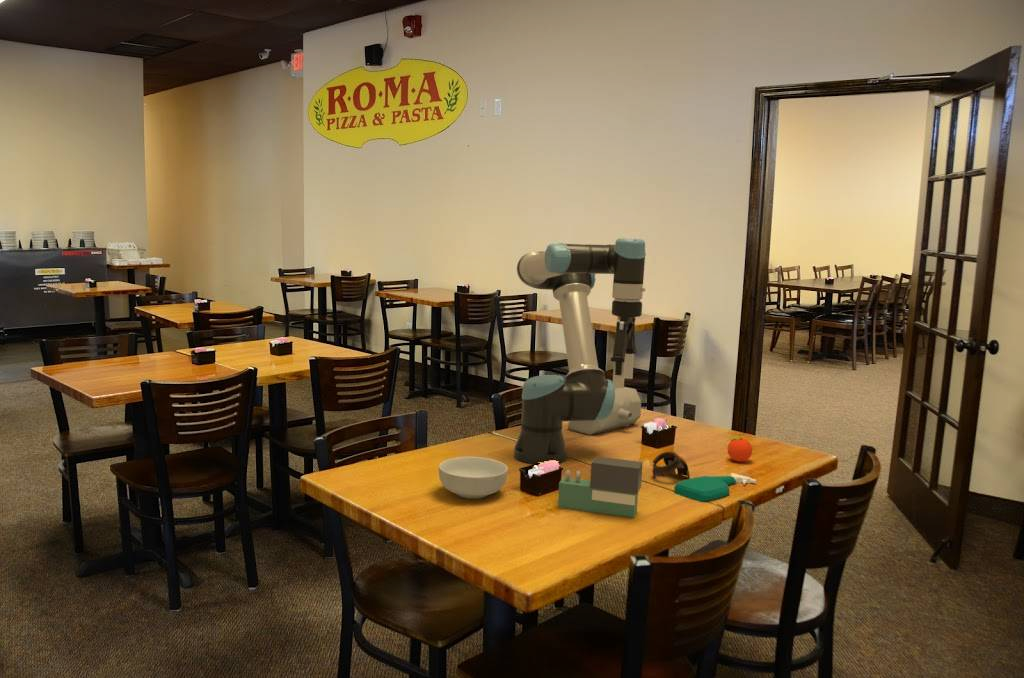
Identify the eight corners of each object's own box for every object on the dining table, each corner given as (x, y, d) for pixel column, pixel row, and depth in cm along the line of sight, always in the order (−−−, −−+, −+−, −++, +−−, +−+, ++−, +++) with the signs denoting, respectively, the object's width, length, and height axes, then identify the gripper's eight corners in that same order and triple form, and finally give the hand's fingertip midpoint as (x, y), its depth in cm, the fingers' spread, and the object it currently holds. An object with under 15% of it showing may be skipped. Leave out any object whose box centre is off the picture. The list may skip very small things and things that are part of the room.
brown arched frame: (695, 486, 211) (684, 461, 208) (662, 498, 213) (650, 474, 210) (687, 461, 222) (676, 438, 219) (655, 474, 224) (644, 450, 221)
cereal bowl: (454, 509, 186) (455, 479, 185) (427, 487, 201) (428, 460, 200) (518, 500, 194) (519, 471, 193) (488, 479, 209) (489, 453, 208)
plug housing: (590, 487, 186) (591, 462, 185) (594, 480, 191) (596, 456, 190) (637, 494, 183) (638, 468, 182) (641, 486, 188) (642, 462, 187)
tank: (604, 440, 251) (606, 401, 250) (566, 430, 263) (568, 392, 261) (651, 428, 269) (653, 391, 267) (613, 419, 280) (615, 384, 278)
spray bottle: (669, 493, 204) (726, 477, 220) (705, 505, 196) (761, 488, 212) (670, 482, 204) (727, 467, 220) (706, 493, 195) (762, 477, 211)
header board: (557, 507, 190) (559, 472, 188) (562, 501, 194) (564, 467, 193) (633, 518, 184) (635, 482, 183) (636, 511, 189) (639, 476, 188)
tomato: (721, 462, 232) (723, 438, 231) (724, 456, 238) (726, 432, 237) (750, 466, 229) (752, 441, 228) (752, 459, 235) (754, 436, 234)
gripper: (634, 305, 189) (629, 393, 192) (649, 297, 213) (644, 375, 216) (603, 303, 191) (598, 390, 194) (621, 295, 215) (616, 373, 218)
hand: (622, 383), depth 205 cm, fingers open, 13 cm apart
